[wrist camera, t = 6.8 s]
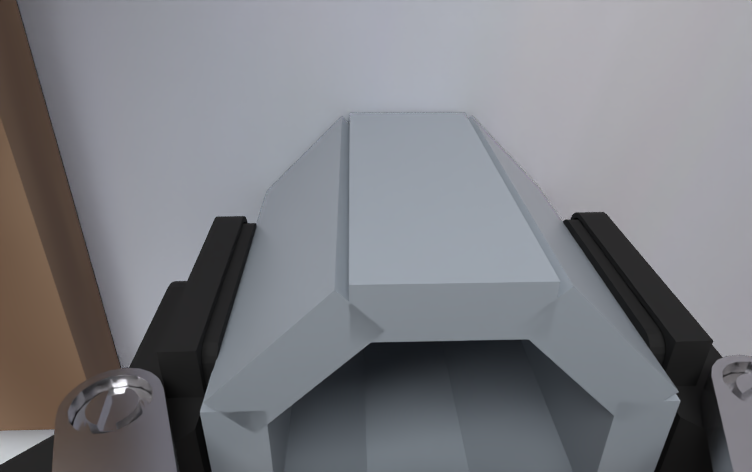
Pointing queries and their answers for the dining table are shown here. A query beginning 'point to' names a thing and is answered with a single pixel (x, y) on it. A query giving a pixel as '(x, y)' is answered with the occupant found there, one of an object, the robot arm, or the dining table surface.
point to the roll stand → (40, 255)
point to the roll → (426, 320)
